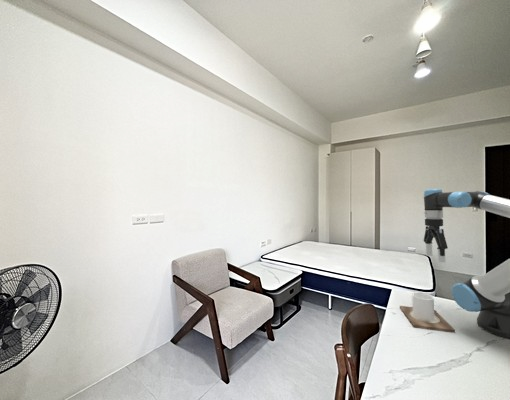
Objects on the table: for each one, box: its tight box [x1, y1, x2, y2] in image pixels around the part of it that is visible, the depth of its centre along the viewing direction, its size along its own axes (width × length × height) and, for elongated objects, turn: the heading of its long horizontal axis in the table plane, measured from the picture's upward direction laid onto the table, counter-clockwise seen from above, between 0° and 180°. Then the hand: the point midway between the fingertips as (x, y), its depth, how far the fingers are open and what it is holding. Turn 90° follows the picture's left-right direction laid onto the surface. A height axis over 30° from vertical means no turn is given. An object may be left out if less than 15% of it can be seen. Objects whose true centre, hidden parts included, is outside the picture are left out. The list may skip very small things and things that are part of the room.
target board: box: [399, 305, 456, 334], centre depth 111 cm, size 16×20×1 cm
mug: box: [411, 291, 435, 321], centre depth 111 cm, size 9×12×11 cm
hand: (435, 258), depth 116 cm, fingers open, 13 cm apart
